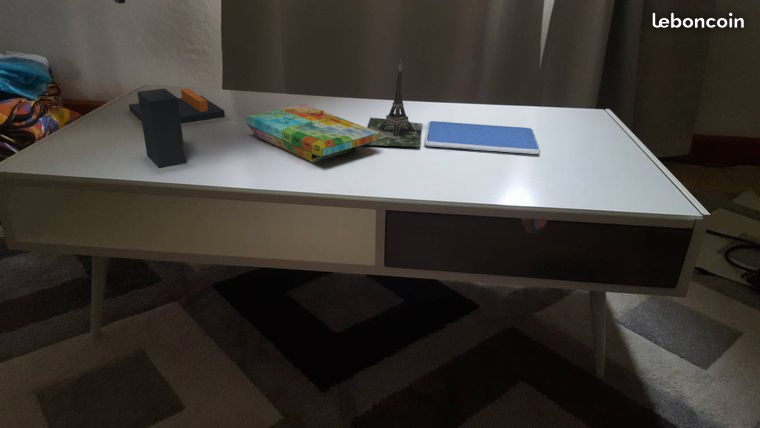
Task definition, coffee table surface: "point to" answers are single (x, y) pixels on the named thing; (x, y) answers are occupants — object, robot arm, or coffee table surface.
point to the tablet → (481, 137)
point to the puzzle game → (310, 132)
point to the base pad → (190, 107)
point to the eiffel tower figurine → (396, 123)
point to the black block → (162, 127)
